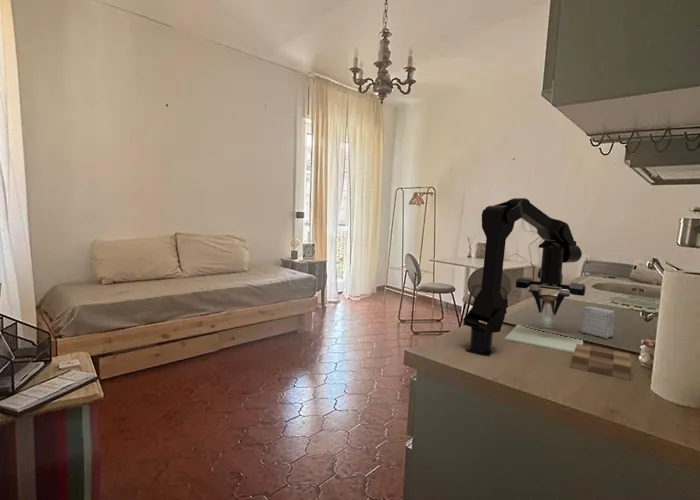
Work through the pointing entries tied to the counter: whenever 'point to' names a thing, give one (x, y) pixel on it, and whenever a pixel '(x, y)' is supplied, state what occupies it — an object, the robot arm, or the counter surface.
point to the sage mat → (543, 339)
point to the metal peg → (547, 310)
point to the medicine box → (598, 321)
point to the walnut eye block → (602, 361)
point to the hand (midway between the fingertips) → (547, 313)
